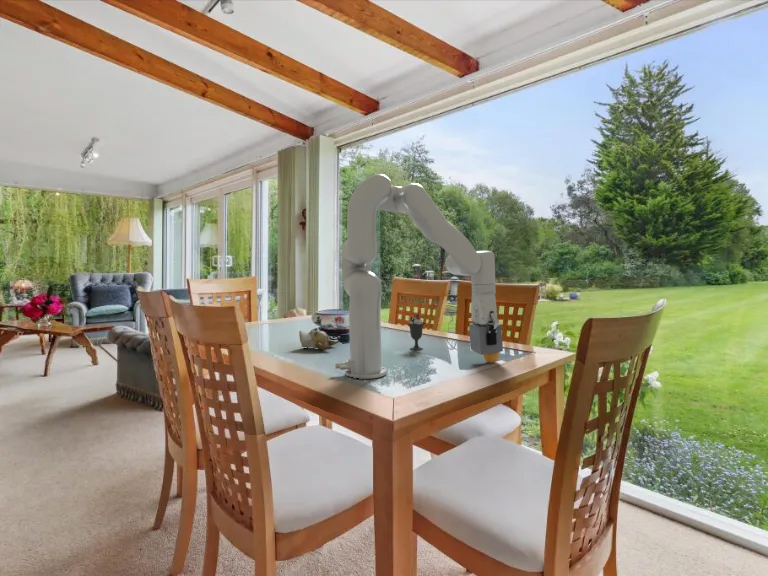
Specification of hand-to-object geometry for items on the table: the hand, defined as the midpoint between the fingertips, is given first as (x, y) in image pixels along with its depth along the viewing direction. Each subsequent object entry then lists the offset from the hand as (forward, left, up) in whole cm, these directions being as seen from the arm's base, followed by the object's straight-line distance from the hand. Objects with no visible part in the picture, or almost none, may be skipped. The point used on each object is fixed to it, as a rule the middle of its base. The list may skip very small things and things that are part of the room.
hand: (485, 342), depth 142 cm
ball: (+2, 0, -5) cm, 5 cm away
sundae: (-15, +27, -7) cm, 32 cm away
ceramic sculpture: (-52, +40, -7) cm, 66 cm away
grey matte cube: (0, 0, -3) cm, 3 cm away
